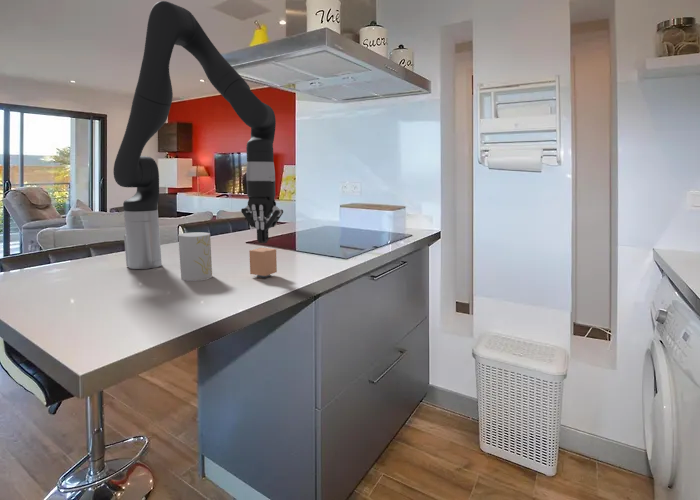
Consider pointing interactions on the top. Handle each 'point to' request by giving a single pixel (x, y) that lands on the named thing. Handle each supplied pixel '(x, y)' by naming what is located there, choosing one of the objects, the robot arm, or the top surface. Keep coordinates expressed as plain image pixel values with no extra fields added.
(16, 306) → the top surface
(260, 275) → the post
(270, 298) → the top surface
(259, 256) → the tan cardboard box
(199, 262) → the white round cylinder
